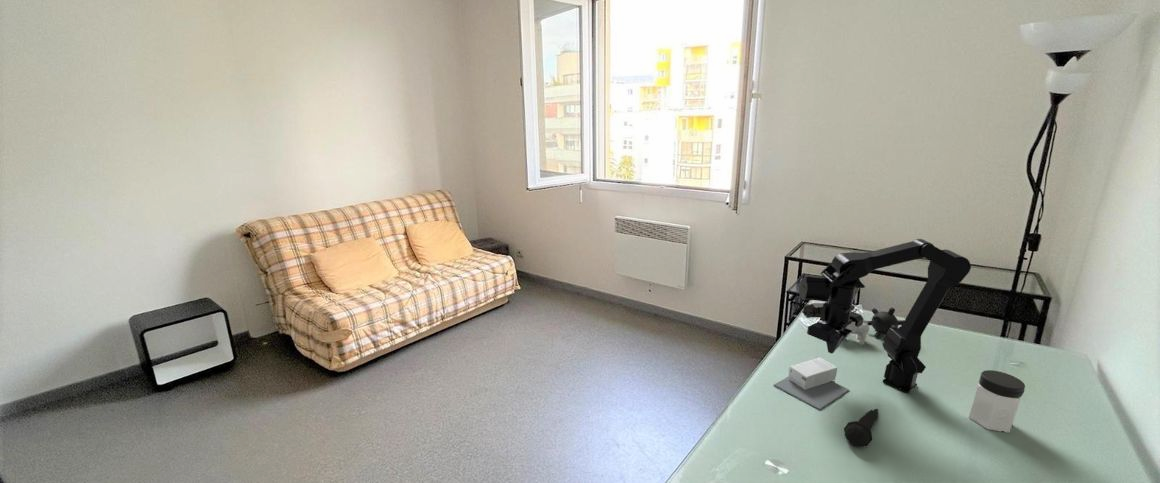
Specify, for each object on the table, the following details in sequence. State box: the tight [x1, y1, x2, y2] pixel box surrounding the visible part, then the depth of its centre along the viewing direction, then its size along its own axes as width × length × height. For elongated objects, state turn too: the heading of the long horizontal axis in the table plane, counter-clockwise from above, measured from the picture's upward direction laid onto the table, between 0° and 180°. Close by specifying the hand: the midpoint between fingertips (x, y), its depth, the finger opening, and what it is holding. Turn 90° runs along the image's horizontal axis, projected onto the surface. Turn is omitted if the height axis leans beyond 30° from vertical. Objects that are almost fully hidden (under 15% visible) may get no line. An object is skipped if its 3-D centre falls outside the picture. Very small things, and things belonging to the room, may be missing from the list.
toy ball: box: [867, 307, 905, 339], centre depth 161 cm, size 11×11×12 cm
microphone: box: [843, 407, 879, 448], centre depth 115 cm, size 6×6×20 cm
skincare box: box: [787, 357, 838, 390], centre depth 134 cm, size 6×4×12 cm
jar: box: [968, 369, 1026, 433], centre depth 117 cm, size 9×8×12 cm
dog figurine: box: [847, 319, 870, 345], centre depth 158 cm, size 5×13×11 cm, turn 75°
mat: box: [773, 376, 850, 411], centre depth 131 cm, size 13×15×1 cm
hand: (830, 352), depth 133 cm, fingers closed
